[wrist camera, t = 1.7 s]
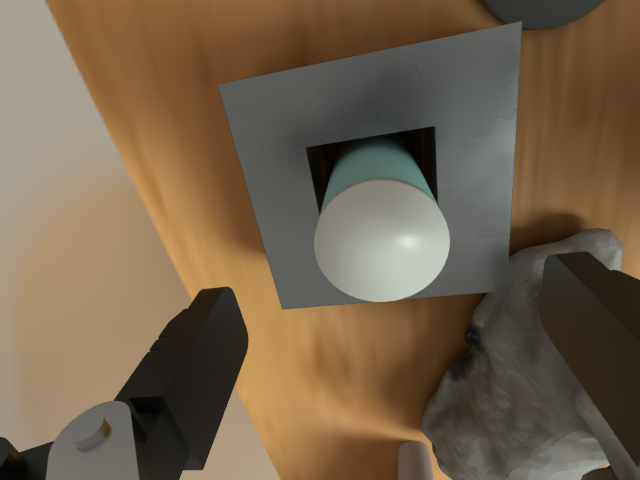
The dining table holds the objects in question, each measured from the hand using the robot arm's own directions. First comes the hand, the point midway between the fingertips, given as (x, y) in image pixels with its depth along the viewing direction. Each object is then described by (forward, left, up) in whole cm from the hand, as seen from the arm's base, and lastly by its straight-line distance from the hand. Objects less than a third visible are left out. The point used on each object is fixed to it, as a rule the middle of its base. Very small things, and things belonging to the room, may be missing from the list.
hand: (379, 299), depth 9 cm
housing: (0, 0, -13) cm, 13 cm away
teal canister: (0, 0, -13) cm, 13 cm away
